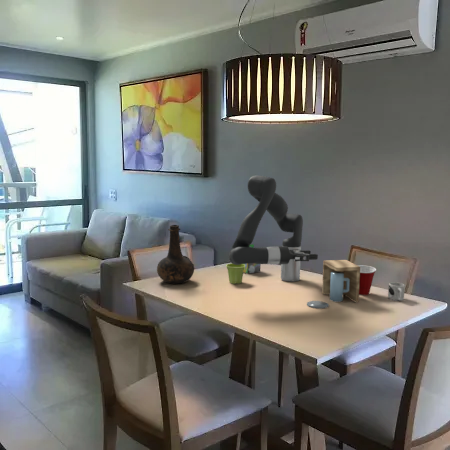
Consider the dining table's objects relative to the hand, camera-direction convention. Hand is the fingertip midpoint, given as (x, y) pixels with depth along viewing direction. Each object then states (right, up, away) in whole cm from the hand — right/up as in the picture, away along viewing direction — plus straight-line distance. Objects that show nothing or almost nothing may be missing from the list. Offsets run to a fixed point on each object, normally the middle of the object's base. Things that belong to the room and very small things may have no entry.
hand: (313, 254), depth 211 cm
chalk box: (-25, -13, +56) cm, 63 cm away
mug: (+38, -20, +6) cm, 43 cm away
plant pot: (-33, -16, +32) cm, 48 cm away
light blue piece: (+12, -20, +5) cm, 24 cm away
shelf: (+13, -19, +8) cm, 25 cm away
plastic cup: (+25, -19, +15) cm, 35 cm away
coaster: (+1, -21, -3) cm, 21 cm away
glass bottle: (-62, -15, +32) cm, 71 cm away
